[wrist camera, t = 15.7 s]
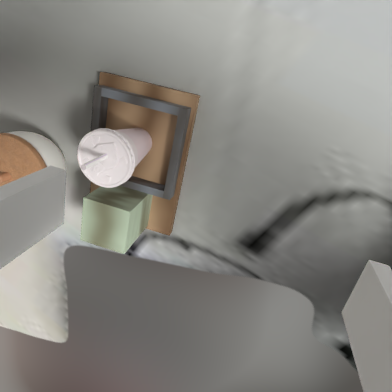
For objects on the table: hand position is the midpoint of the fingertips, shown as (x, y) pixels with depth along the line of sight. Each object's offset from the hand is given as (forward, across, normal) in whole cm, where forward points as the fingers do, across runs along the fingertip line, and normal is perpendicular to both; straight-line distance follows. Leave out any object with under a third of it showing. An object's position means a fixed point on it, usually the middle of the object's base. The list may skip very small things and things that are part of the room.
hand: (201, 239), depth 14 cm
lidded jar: (+29, +28, +12) cm, 42 cm away
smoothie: (+28, +14, +5) cm, 31 cm away
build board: (+29, +14, +8) cm, 33 cm away
